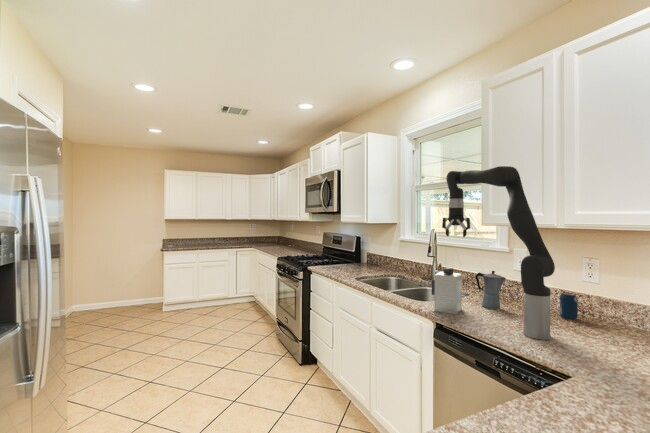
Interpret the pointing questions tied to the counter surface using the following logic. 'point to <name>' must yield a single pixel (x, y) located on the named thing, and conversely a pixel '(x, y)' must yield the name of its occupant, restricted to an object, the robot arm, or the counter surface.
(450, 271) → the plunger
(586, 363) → the counter surface
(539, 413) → the counter surface
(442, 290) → the grey block
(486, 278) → the moka pot
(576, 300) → the soda can
